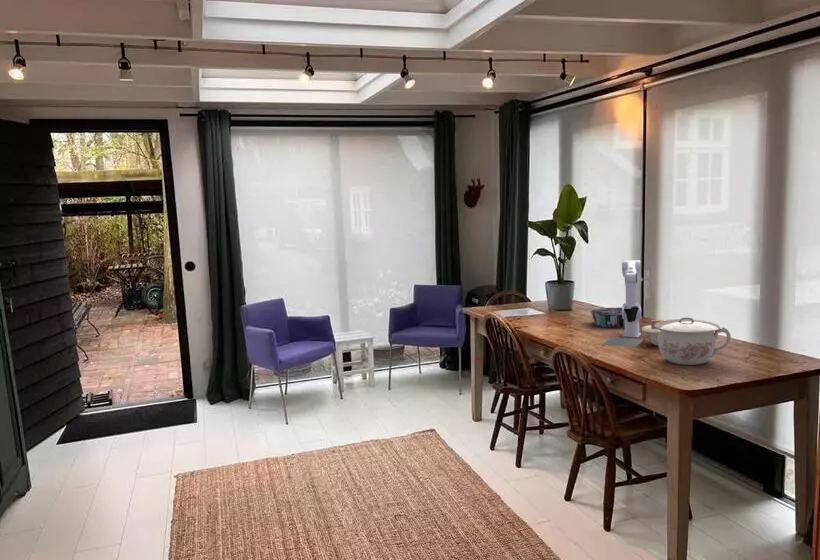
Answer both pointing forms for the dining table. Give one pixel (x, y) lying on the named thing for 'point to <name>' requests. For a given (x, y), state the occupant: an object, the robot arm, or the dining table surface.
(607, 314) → the decorative bowl
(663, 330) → the chamber pot
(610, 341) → the mat
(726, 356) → the dining table surface
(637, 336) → the robot arm
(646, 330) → the lid
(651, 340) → the teacup
